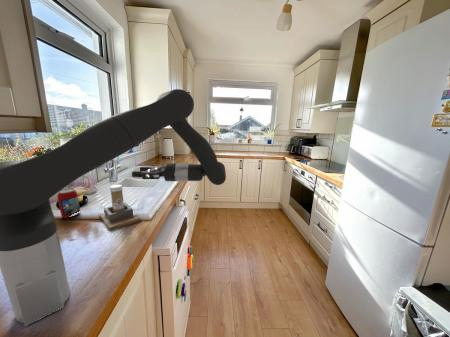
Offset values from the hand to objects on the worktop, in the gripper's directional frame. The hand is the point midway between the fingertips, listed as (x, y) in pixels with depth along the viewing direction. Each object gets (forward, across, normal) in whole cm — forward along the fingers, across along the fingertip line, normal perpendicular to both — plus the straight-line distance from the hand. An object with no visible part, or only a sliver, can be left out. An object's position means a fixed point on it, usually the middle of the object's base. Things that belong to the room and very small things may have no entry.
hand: (136, 171), depth 76 cm
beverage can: (+32, -8, +23) cm, 41 cm away
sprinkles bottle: (+10, -5, +21) cm, 24 cm away
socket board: (+10, -5, +22) cm, 25 cm away
